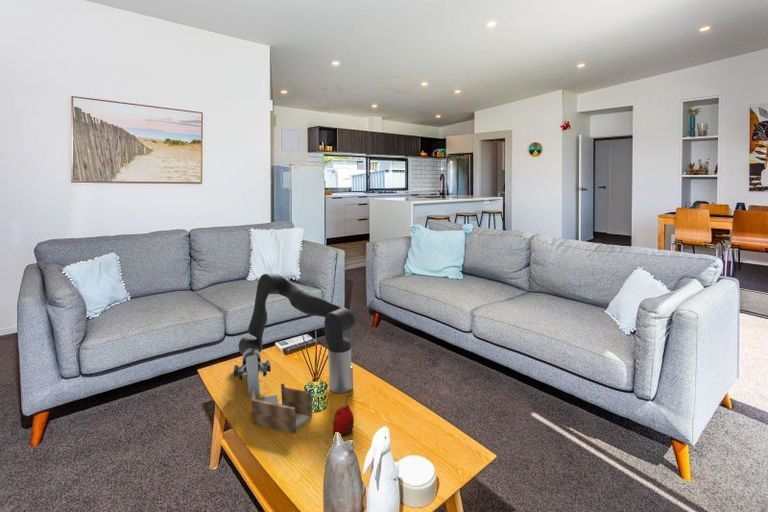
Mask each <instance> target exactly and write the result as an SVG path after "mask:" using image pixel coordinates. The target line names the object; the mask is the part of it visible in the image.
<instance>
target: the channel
mask: <svg viewBox="0 0 768 512" xmlns="http://www.w3.org/2000/svg"><path fill="white" fill-rule="evenodd" d="M285 386H286V385H285V383H281V384H280V394H281V404H280V403H278V404H276V403H271V402H266V401H262V400H259V399H257V398H255V388H253V389H251V395H252V398H251V406H252V408H251V409H252V419H253V425H257V426H259V427H260V426H261V427H266V428H269V429H273V430H277V431H281V432H285V433H288V434H289V433H291V434H293V435H294V434H296V433H297V432H298V431H299V430H300V429H302V427H303V426H304V425H305V424H306V423H307V422H308V421H309V420H310V419H311V418H312V417H313V401H312V392H311V391H306V390H301V389H297V388H296V389H295V388H290V387H285Z"/></svg>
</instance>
